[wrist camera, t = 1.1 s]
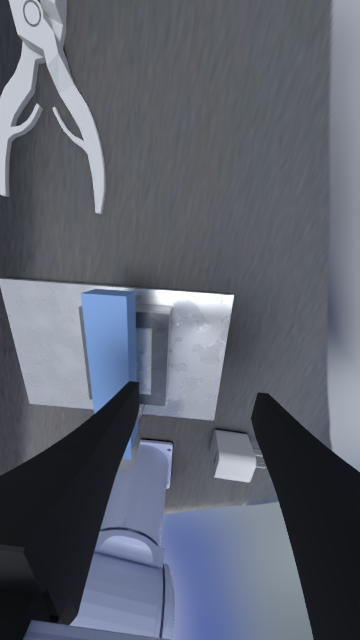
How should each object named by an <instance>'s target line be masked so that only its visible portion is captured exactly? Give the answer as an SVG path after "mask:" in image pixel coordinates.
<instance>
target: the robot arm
mask: <svg viewBox="0 0 360 640" xmlns="http://www.w3.org/2000/svg"><path fill="white" fill-rule="evenodd" d="M139 408H140V404H139V382H134V381H129V382H128V383H127V384H126V385H125V386H124V387H123V388H122V389H121V390H120V391H119V392H118V393H117V394H116V395H115V396H114V397H113V398H112V399H110V400H109V401H108V402H107V403H106V404H105V405H104V406H103V407H102V408H101V409H100V410H98V411H97V412H96V413H95V414H94V415H93V416H92V417H90V418H89V419H88V420H87V421H85V422H84V423H83V424H82V425H80V426H79V427H78V428H76V429H75V430H74V431H73V432H71V433H70V434H68V435H67V436H66V437H64V438H63V439H61V440H60V441H58V442H57V443H55V444H54V445H52V446H51V447H49V448H48V449H46V450H45V451H43V452H41V453H40V454H38V455H36V456H35V457H33V458H31V459H30V460H28V461H26V462H25V463H23V464H21V465H19V466H18V467H16V468H14V469H12V470H10V471H9V472H7V473H5V474H3V475H1V476H0V640H173V629H174V608H175V607H174V606H175V596H174V583H173V578H172V576H171V573H170V568H169V566H168V565H167V564H164V563H163V560H164V548H162V547H160V543H161V534H162V524H163V514H164V505H165V495H166V489H168V488H170V478H171V464H172V449H173V444H172V443H170V442H161V441H151V440H140V444H139V448H138V452H137V455H136V459H135V462H134V465H133V466H132V467H131V468H130V469H129V470H126V471H122V472H117V471H118V468H119V466H120V463H121V460H122V458H123V455H124V453H125V450H126V447H127V445H128V442H129V440H130V437H131V434H132V432H133V429H134V426H135V423H136V420H137V416H138V412H139ZM251 420H252V424H253V429H254V432H255V436H256V439H257V442H258V445H259V447H260V450H261V453H262V455H263V458H264V461H265V463H266V466H267V469H268V471H269V474H270V476H271V479H272V482H273V485H274V487H275V490H276V493H277V497H278V500H279V503H280V507H281V510H282V514H283V517H284V521H285V524H286V528H287V532H288V535H289V539H290V543H291V546H292V550H293V554H294V558H295V562H296V566H297V569H298V574H299V578H300V582H301V586H302V590H303V594H304V598H305V603H306V607H307V612H308V616H309V620H310V625H311V629H312V634H313V637H314V640H360V472H358V471H357V470H356V469H355V468H353V467H352V466H351V465H349V464H348V463H346V462H345V461H344V460H343V459H341V458H340V457H339V456H337V455H336V454H335V453H334V452H332V451H331V450H330V449H329V448H327V447H326V446H325V445H324V444H323V443H321V442H320V441H319V440H318V439H317V438H316V437H314V436H313V435H312V434H311V433H310V432H309V431H308V430H306V429H305V428H304V427H303V426H302V425H301V424H300V423H299V422H298V421H297V420H295V419H294V418H293V417H292V416H291V415H290V414H289V413H288V412H287V411H286V410H285V409H284V408H283V407H282V406H281V405H280V404H279V403H278V402H277V401H276V400H275V399H274V398H272V397H271V396H270V395H269V394H268V393H258V394H257V398H256V401H255V405H254V409H253V413H252V417H251Z"/></svg>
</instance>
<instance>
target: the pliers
mask: <svg viewBox="0 0 360 640" xmlns="http://www.w3.org/2000/svg"><path fill="white" fill-rule="evenodd" d="M9 2H10V6H11V10H12V14H13V18H14V22H15V26H16V30H17V34H18V35H19V36H20V38H21V39H22V40H23V44H22V54H21V59H20V61H19V64H18V66H17V69H16V71H15V74H14V75H13V77H12V78H11V79H10V81H9V82H8V84H7V85H6V86H5V88H4V90H3V93H2V95H1V98H0V195H3V196H6V197H9V160H10V151H11V144H12V141H13V140H14V139H15V138H16V137H19V136H21V135H24V134H26V133H27V132H29V131H30V130H31V129H32V128H33V127H34V126H35V124H36V123H37V121H38V119H39V117H40V115H41V113H42V111H43V109H42V108H41V107H40V106H39V105H38V104H36V106H35V108H34V110H33V112H32V114H31V116H30V117H29V119H28V120H27V121H26V122H24V123H23V124H22V125H20V126H16V123H17V120H18V117H19V116H20V114H21V113H22V111H23V109H24V108H25V106H26V105H27V103H28V102H29V101H30V99H31V98H32V96H33V95H34V93H35V88H36V81H37V74H38V66H39V64H43V63H47V67H48V69H49V72H50V74H51V76H52V79H53V81H54V83H55V86H56V88H57V90H58V92H59V95H60V96H61V98H62V99H63V101H64V103H65V104H66V106H67V108H68V109H69V111H70V112H71V114H72V116H73V117H74V119H75V121H76V123H77V125H78V126H79V128H80V131H81V134H82V136H83V139H84V141H83V140H81V139H79V138H77V137H75V136H74V135H73V134H72V133H71V132H70V131H69V130H68V128H67V127H66V125H65V123H64V122H63V120H62V118H61V116H60V114H59V111H58V110H57V109H56V108H55V107H54V108H52V109H53V111H54V113H55V115H56V117H57V120H58V121H59V123H60V125H61V127H62V128H63V130H64V131H65V133H66V134H67V135H68V136H69V137H70V138H71V139H72V140H73V142H74V143H76V144H77V145H78V146H80V147H81V148H82V149H84V150H85V152H86V153H87V154H88V158H89V163H90V167H91V173H92V178H93V187H94V197H95V213H97V214H103V208H104V203H105V194H106V171H105V161H104V155H103V150H102V145H101V141H100V136H99V133H98V130H97V127H96V123H95V121H94V118H93V116H92V114H91V111H90V109H89V107H88V105H87V104H86V102H85V101H84V99H83V98H82V96H81V94H80V93H79V91H78V90H77V88H76V85H75V83H74V81H73V78H72V76H71V73H70V71H69V67H68V62H67V59H66V57H65V54H64V51H63V47H64V41H65V35H66V14H67V0H40V3H41V5H40V3H39V2H38V0H9Z"/></svg>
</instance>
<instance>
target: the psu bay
mask: <svg viewBox="0 0 360 640" xmlns="http://www.w3.org/2000/svg"><path fill="white" fill-rule="evenodd" d="M0 287H1V291H2V295H3V299H4V303H5V307H6V311H7V315H8V319H9V323H10V327H11V331H12V335H13V339H14V343H15V347H16V351H17V355H18V359H19V363H20V366H21V370H22V374H23V378H24V382H25V386H26V390H27V394H28V398H29V402H30V404H40V405H51V406H62V407H73V408H84V409H94V407H93V399H92V390H91V381H90V372H89V363H88V354H87V345H86V336H85V327H84V318H83V310H82V301H81V293H83V292H87V291H90V290H94V289H106V290H120V291H134V292H135V302H136V367H137V382H139V404H140V408H139V412H138V416H137V431H138V427H139V424H140V421H141V418H142V414H149V415H159V416H170V417H181V418H192V419H203V420H214V417H215V411H216V404H217V398H218V392H219V386H220V380H221V373H222V367H223V361H224V355H225V348H226V342H227V336H228V330H229V323H230V317H231V311H232V305H233V298H234V295H233V294H227V293H213V292H199V291H185V290H172V289H158V288H144V287H130V286H116V285H102V284H88V283H74V282H60V281H46V280H32V279H18V278H0Z"/></svg>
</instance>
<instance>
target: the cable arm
mask: <svg viewBox="0 0 360 640" xmlns="http://www.w3.org/2000/svg"><path fill="white" fill-rule="evenodd" d="M81 301H82V310H83V318H84V327H85V336H86V345H87V354H88V363H89V372H90V381H91V390H92V399H93V407H94V414H95V413H96V412H97V411H98V410H100V409H101V408H102V407H103V406H104V405H105V404H106V403H107V402H108V401H109V400H110V399H112V398H113V397H114V396H115V395H116V394H117V393H118V392H119V391H120V390H121V389H122V388H123V387H124V386H125V385H126V384H127V383H128V382H129V381H134V382H137V367H136V302H135V292H134V291H120V290H106V289H94V290H90V291H87V292H83V293H81ZM140 440H141V439H140V435H139V433H138V432H137V420H136V423H135V426H134V429H133V432H132V434H131V437H130V440H129V442H128V445H127V447H126V450H125V453H124V455H123V458H122V460H121V463H120V466H119V468H118V471H117V472H122V471H126V470H129V469H130V468H131V467H132V466H133V465H134V462H135V459H136V455H137V452H138V448H139V444H140Z"/></svg>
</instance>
